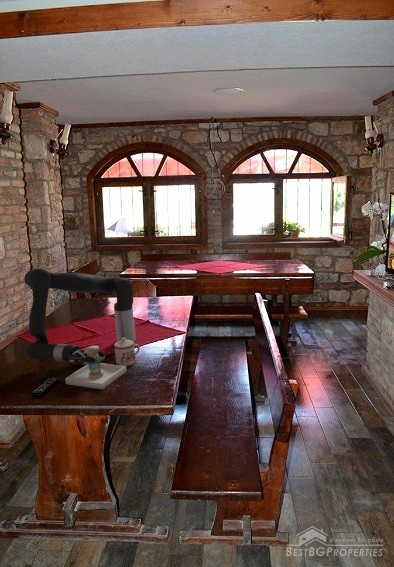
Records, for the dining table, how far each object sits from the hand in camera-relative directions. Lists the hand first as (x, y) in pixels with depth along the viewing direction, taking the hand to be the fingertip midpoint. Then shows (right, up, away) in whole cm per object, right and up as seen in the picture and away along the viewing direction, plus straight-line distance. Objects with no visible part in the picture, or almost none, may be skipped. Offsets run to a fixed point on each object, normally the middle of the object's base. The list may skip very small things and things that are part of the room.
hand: (99, 357), depth 187 cm
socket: (-9, -5, +22) cm, 24 cm away
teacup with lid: (+9, -5, +18) cm, 21 cm away
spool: (-2, -8, +3) cm, 9 cm away
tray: (-2, -9, +3) cm, 10 cm away
